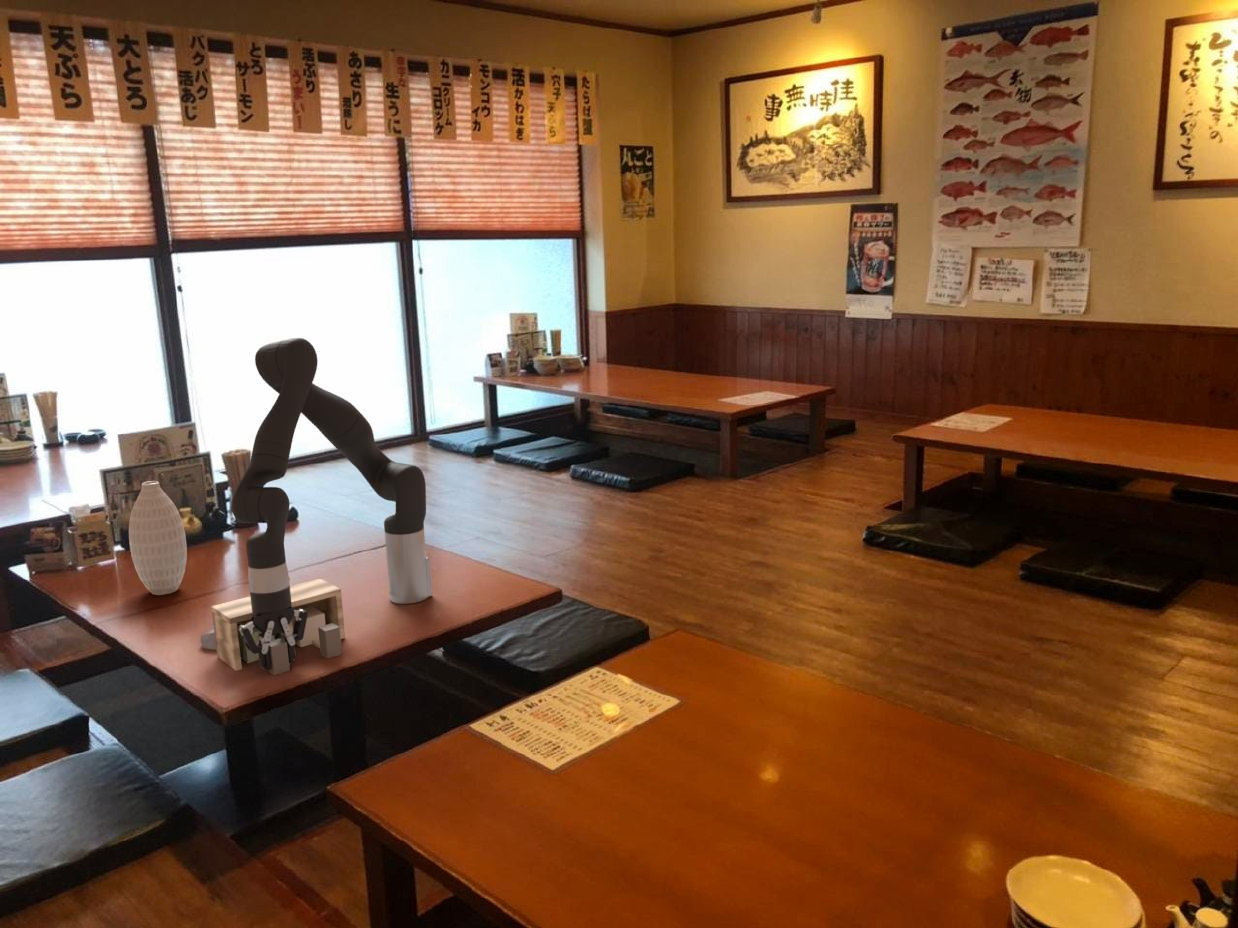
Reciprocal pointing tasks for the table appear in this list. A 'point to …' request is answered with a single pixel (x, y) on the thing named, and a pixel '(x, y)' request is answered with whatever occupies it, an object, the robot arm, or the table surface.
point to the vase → (157, 540)
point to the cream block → (320, 633)
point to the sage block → (275, 650)
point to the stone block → (209, 640)
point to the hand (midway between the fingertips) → (278, 665)
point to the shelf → (240, 613)
